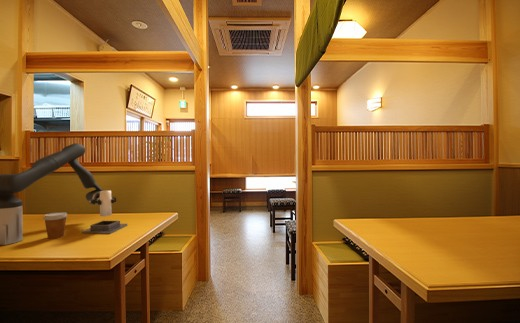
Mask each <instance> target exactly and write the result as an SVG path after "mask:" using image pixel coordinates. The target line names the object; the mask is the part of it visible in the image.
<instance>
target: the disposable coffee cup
mask: <svg viewBox="0 0 520 323" xmlns="http://www.w3.org/2000/svg"><path fill="white" fill-rule="evenodd" d="M67 217H68V213H67V212H63V211H61V212H60V211H59V212H51V213H47V214H46V213H45V214H44V217H43V220H44V224H45V225H44V226H45V230H46V235H47V239H48V240H54V239H60V238H62V237H65V236H64V235H65V230H66V222H67Z"/></svg>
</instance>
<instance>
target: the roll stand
mask: <svg viewBox="0 0 520 323" xmlns="http://www.w3.org/2000/svg"><path fill="white" fill-rule="evenodd" d="M127 226H128V223H121V220H101V221H97V222H96V223H94V224H93V223H92V224H90V227H89V228H87V229H84V230H82V231H81V234H82V233H97V235H98V234H100V235H103V234H104V235H107V234H109V235H111V234H113V233H115V232H117V231H120V230H122V229H124V228H125V227H127Z"/></svg>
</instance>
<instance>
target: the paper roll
mask: <svg viewBox="0 0 520 323" xmlns="http://www.w3.org/2000/svg"><path fill="white" fill-rule="evenodd" d="M111 198H112V190H103V191H100V200H101V205H99V216H100V217H110V216H112V212H113V211H112V203H111Z"/></svg>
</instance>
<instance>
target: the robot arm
mask: <svg viewBox="0 0 520 323" xmlns="http://www.w3.org/2000/svg"><path fill="white" fill-rule="evenodd" d="M85 154H86V147H85V146H84V145H83V144H81V143H78V142H77V143H72V144H69V145H67V146H64V147H63V148H62V149H61V150H60V151H57V152H54V153H51V154H48V155H46V156H43V157H42V158H39V159H37V160H36V161H34V162H33V163H32V165H31V167H30V168H28V169H27V170H25V171H22V172H19V173H5V174H4V173H2V174H0V246H7V245H12V244H15V243H19V242H21V241H23V240H24V238H23V236H24V234H23V232H24V231H23V229H24V228H23V225H24V224H23V222H24V221H23V218H24V217H23V213H24V212H23V208H24V207H23V200H22V199H20V198H18V197H17V196H16V195H15V194H18V193H21V192H22V191H24V190H26V189H27V188H29V187H31V185H33V184H34V183H36V182H37V181H38V180H41V179H42V178H43V179H44V178H45V177H47V176H48V175H50V174H51V173H53V172H56V171H57V170H58V169H59V170H60V168H62V167H64V166H65V165H66V164H68V165H69V166H70V167H71V168H72V170H73V171H74V173H75V174H76V175H77V177H78V178H79V180H80V182H81V184H82V186H83V187H84V189H85V190H88V189H92V188H93V189H94V190H91V191H89V192H87V193H85V199H86V201H87V202H88V203H89V205H90V204H91V205H98V206H100V205H101V200H100V191H104V190H103V188H101V186H100V185H99V184H98V183H97V182H96V179H95V178H94V176H93V174H92V172H91V171H89V170H88V169H87V168H85V167H84V166H83V165H82V164H81V163H80V162H79V160H78V159H79V158H81V157H82V156H84V155H85ZM116 202H117V196H115V195H113V197H111V204H115V203H116Z"/></svg>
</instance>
